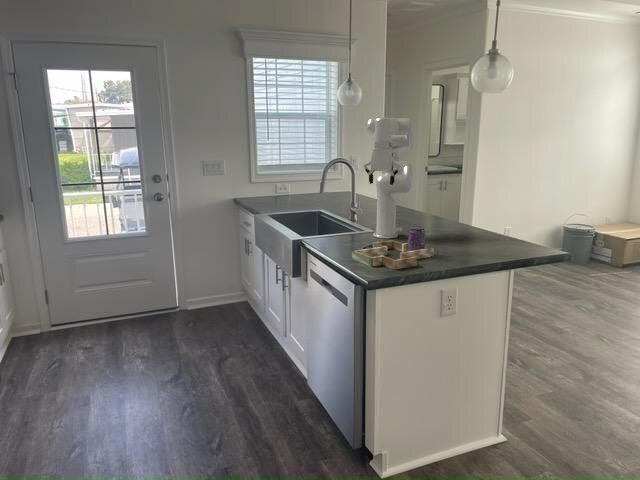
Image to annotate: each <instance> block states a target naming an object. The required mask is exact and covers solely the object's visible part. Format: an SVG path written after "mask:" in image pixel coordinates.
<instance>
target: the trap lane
mask: <svg viewBox="0 0 640 480" xmlns="http://www.w3.org/2000/svg"><path fill="white" fill-rule="evenodd" d="M390 249H394V250H396V251H399V258H398V259H394V258H391V257H389V256H386V255H388V250H390ZM434 251H435V250H434V248H433V247H430V248H424V249H421V250H414V251H408V242H405V243H403V242H399V241H397V240H393V239H392V240H385V241H377V242H372V248H371V247H370V248H364V249H357V250H352V251H351V260H354V261H356V262H359V263H360V264H362V265H363V264H364V265H366V266H368V267H371V268H372V267H377V266H384V267H386V268H388V269H391V270H400V269H405V268H411V267H417V266H418V259H419V260H420V259H424V258H432V257H434ZM431 256H432V257H431Z"/></svg>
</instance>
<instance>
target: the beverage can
mask: <svg viewBox="0 0 640 480" xmlns="http://www.w3.org/2000/svg"><path fill="white" fill-rule="evenodd" d="M407 238H408V239H407V243H408V251H414V250H421V249H425V242H426V241H425V240H426V230H425V226H420V225H412V226H409V230H408V237H407ZM408 251H407V252H408Z"/></svg>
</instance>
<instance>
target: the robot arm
mask: <svg viewBox="0 0 640 480" xmlns="http://www.w3.org/2000/svg"><path fill="white" fill-rule="evenodd" d="M366 130H367V133H368V134H369V135H371V136H374V144H373V145H374V147H373V148H372V152H371V157H370V161H369V162H368V163H365V164H364V165H363V168H364V170H365V172H366V174H367V175H368V182H369V185H371V184H374V173H375V172H381V175H380V174H379V175H378V176H377V177H376V180H375V187H376V196H377V197H376V200H377V201H376V202H377V203H376V229H375V232H373V234H372V235H373V237H375V238H379V239H395V238H398V236H399V234H398V232H403V227H397V226H396V218H397V217H396V214H397V212H396V211H397V202H396V199H395V198H394V196H393V195H399V194H400V195H407V194H409V193H410V191H411V188H412V183H413V176H414V173H413V172H414V167H413V164H412V162H410V161H405V160H404V161H403V160H402V161H401V157H400V156H399V154H398V153H397V152H396V151H395V150H397V151H409V150H412V149H413V147H414V145H415V142H414V141H415V140H414V138H415V137H414V126H413V121H412V120H411V119H410V118H408V117H407V118H406V117H403V118H401V117H400V118H399V117H398V118H396V117H372V118H369V119H368V121H367V124H366ZM369 168H370V169H369Z"/></svg>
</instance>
